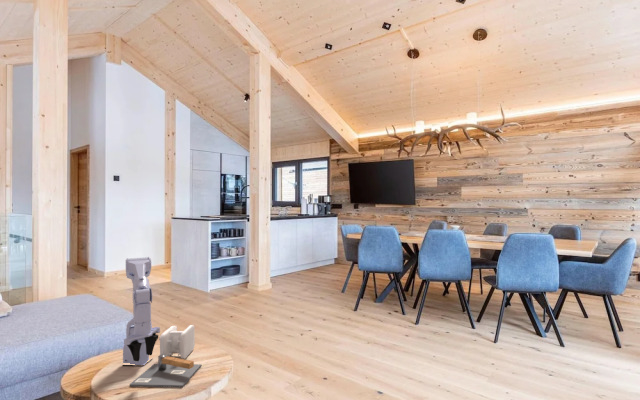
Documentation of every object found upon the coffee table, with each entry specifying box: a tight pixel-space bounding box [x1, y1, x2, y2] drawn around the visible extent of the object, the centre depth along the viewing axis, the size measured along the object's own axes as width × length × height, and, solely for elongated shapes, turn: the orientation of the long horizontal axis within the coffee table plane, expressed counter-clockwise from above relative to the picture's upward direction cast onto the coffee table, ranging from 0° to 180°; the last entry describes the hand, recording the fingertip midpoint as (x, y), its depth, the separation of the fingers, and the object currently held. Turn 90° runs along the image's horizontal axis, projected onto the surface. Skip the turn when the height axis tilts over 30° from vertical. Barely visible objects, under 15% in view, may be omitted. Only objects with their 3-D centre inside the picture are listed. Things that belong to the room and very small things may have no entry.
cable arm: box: [157, 354, 195, 371], centre depth 149 cm, size 16×3×5 cm, turn 66°
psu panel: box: [129, 363, 202, 389], centre depth 147 cm, size 20×18×1 cm
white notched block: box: [158, 324, 196, 360], centre depth 168 cm, size 15×11×12 cm
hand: (142, 357), depth 142 cm, fingers open, 5 cm apart
